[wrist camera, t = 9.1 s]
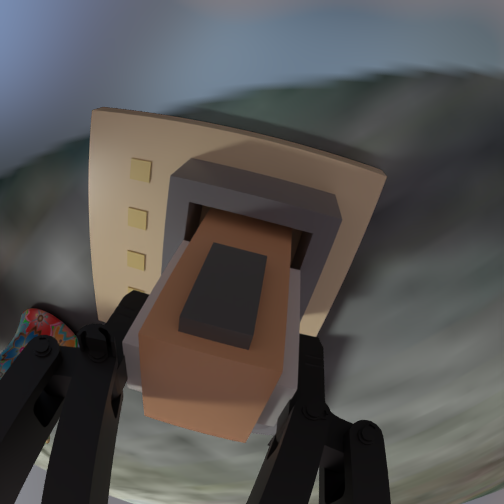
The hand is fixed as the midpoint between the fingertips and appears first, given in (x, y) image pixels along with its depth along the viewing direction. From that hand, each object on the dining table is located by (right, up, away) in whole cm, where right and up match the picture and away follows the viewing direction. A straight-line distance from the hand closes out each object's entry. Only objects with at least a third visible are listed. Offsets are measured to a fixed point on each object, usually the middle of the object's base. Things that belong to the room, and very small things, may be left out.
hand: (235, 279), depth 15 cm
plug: (0, +2, +3) cm, 3 cm away
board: (-2, +1, +5) cm, 5 cm away
